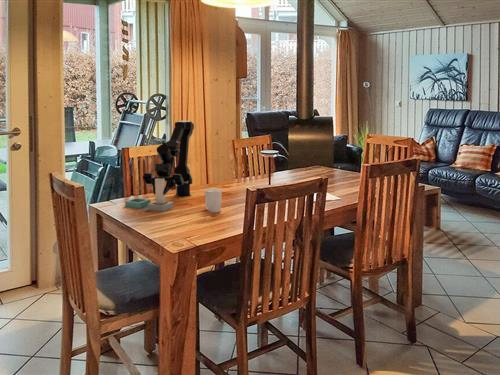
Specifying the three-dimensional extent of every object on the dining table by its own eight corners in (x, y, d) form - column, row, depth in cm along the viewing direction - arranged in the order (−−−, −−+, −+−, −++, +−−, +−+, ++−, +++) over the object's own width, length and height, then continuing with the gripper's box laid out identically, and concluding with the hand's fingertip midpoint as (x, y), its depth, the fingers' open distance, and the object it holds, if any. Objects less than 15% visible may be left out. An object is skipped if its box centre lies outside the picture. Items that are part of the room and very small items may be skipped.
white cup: (215, 213, 237) (215, 192, 235) (201, 211, 241) (201, 190, 239) (225, 210, 244) (225, 189, 242) (211, 208, 248) (211, 187, 246)
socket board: (175, 208, 246) (175, 201, 245) (162, 214, 236) (162, 206, 235) (137, 204, 254) (136, 197, 254) (122, 209, 245) (122, 201, 244)
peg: (164, 206, 245) (163, 177, 242) (166, 209, 241) (165, 179, 238) (155, 207, 244) (154, 178, 241) (156, 209, 240) (155, 180, 237)
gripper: (143, 155, 243) (134, 183, 235) (181, 157, 240) (173, 185, 231) (150, 169, 252) (142, 196, 244) (186, 171, 249) (180, 198, 240)
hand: (159, 194), depth 240 cm, fingers closed on peg, 4 cm apart
